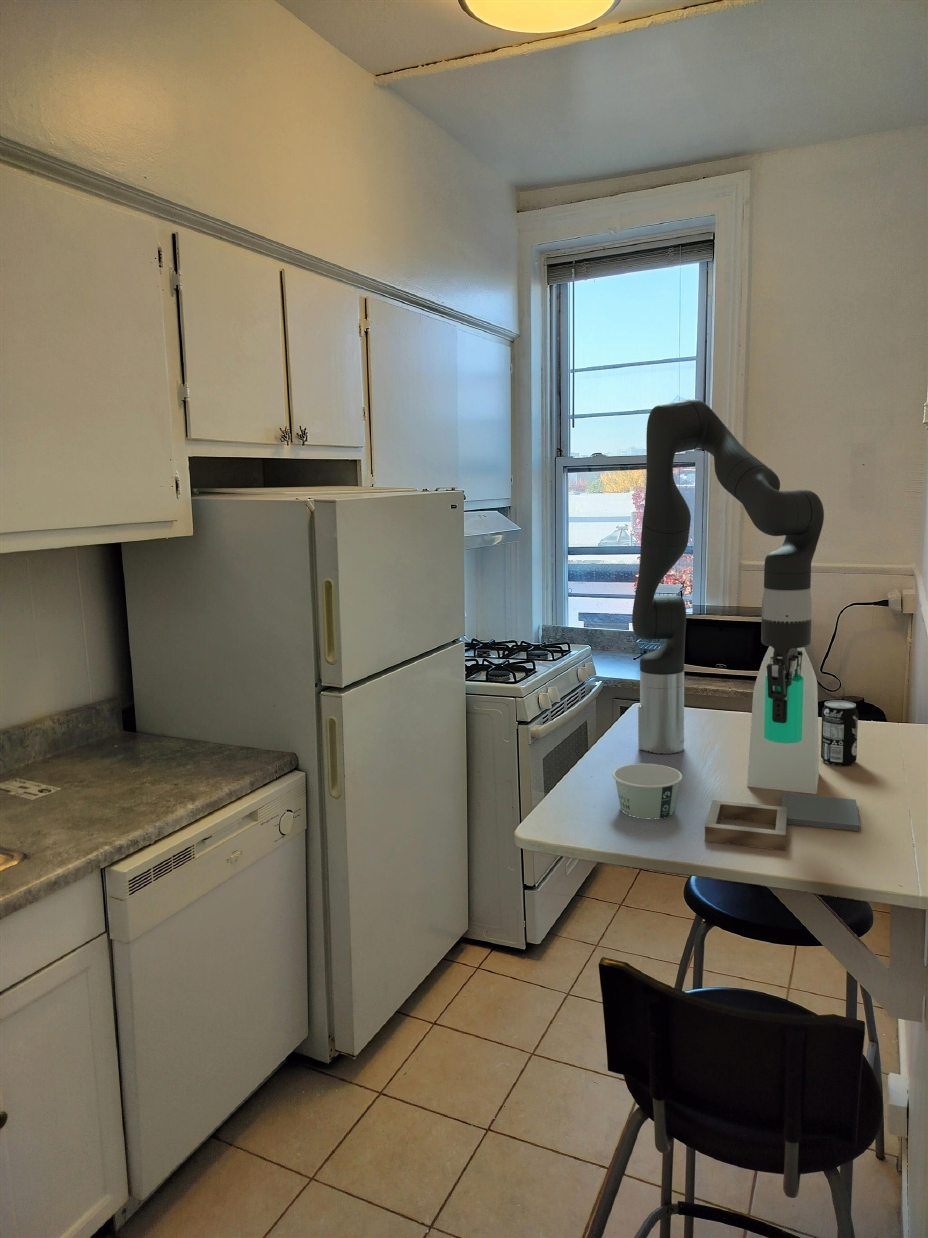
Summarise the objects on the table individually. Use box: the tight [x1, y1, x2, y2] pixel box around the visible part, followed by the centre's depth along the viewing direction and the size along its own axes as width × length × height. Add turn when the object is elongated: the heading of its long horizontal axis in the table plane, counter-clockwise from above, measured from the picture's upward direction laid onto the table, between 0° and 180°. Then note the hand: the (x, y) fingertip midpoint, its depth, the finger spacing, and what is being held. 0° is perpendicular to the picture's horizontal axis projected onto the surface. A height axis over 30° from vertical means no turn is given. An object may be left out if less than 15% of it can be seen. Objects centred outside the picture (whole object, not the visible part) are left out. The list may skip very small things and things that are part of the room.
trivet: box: [780, 792, 861, 832], centre depth 144 cm, size 12×12×1 cm
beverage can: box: [820, 699, 859, 767], centre depth 169 cm, size 7×7×12 cm
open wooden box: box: [704, 799, 788, 852], centre depth 138 cm, size 12×12×2 cm
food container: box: [611, 763, 683, 820], centre depth 148 cm, size 12×12×6 cm
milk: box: [746, 646, 820, 795], centre depth 159 cm, size 12×12×26 cm
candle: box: [764, 673, 804, 743], centre depth 138 cm, size 6×6×12 cm
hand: (783, 717), depth 138 cm, fingers closed on candle, 5 cm apart
